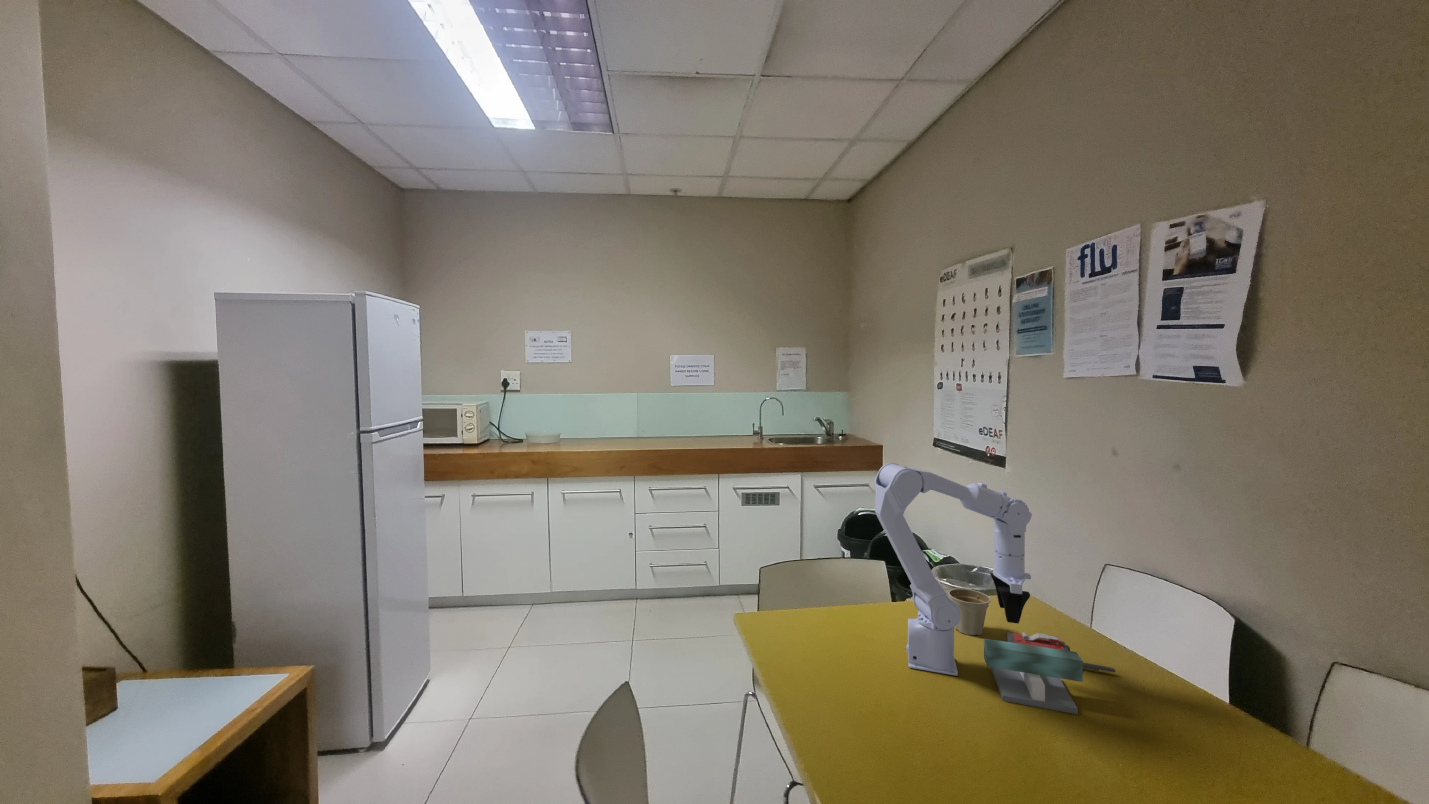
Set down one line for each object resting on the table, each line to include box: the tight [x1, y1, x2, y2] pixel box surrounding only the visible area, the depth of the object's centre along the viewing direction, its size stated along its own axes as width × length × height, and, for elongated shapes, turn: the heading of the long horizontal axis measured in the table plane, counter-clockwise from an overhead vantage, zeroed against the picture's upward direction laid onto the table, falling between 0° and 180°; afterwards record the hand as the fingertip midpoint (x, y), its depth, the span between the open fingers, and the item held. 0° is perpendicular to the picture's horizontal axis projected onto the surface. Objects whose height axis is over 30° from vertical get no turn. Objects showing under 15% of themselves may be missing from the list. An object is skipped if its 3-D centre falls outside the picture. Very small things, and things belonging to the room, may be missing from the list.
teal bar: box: [983, 638, 1084, 683], centre depth 98 cm, size 16×4×4 cm, turn 70°
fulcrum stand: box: [990, 667, 1079, 715], centre depth 98 cm, size 12×12×4 cm
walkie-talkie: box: [1005, 631, 1116, 673], centre depth 110 cm, size 9×4×20 cm
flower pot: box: [947, 588, 992, 636], centre depth 123 cm, size 9×9×9 cm
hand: (1008, 614), depth 108 cm, fingers open, 7 cm apart
